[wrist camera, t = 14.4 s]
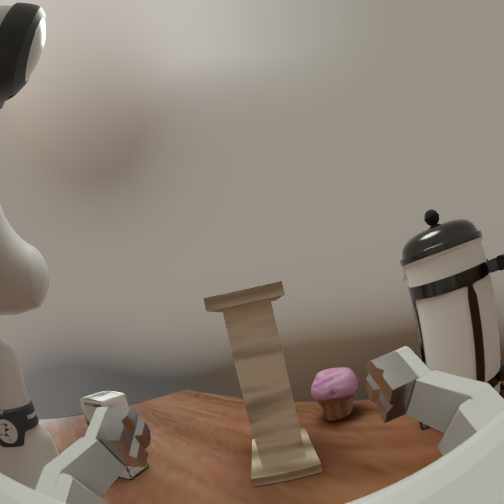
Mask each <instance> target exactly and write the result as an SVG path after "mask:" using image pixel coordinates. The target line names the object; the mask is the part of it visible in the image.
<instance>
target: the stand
mask: <svg viewBox="0 0 504 504" xmlns="http://www.w3.org/2000/svg"><path fill="white" fill-rule="evenodd" d="M282 295H284V290H283V285H282V282H281V281H280V282H276V283H272V284H268V285H263V286H258V287H255V288H250V289H245V290H241V291H236V292H231V293H227V294H222V295H217V296H213V297H208V298H204V302H205V307H206V311H210V312H223V314H224V319H225V323H226V328H227V332H228V337H229V341H230V345H231V350H232V354H233V358H234V362H235V366H236V370H237V374H238V379H239V383H240V387H241V390H242V394H243V398H244V402H245V406H246V410H247V414H248V417H249V421H250V425H251V428H252V432H253V436H254V439H252V469H251V480H252V483H253V486H261V485H267V484H273V483H278V482H283V481H288V480H292V479H297V478H301V477H305V476H309V475H313V474H316V473H320V472H323V471H322V465H321V462H320V460H319V458H318V456H317V454H316V452H315V449H314V447H313V445H312V443H311V441H310V438H309V436H308V434H307V432H306V430H305V428H302V429H300V428H299V423H298V419H297V414H296V410H295V405H294V401H293V396H292V392H291V388H290V384H289V379H288V374H287V370H286V365H285V361H284V357H283V352H282V348H281V344H280V339H279V335H278V331H277V326H276V322H275V317H274V313H273V309H272V305H271V301H274V300H277V299H278V298H280V297H281V296H282Z"/></svg>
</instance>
